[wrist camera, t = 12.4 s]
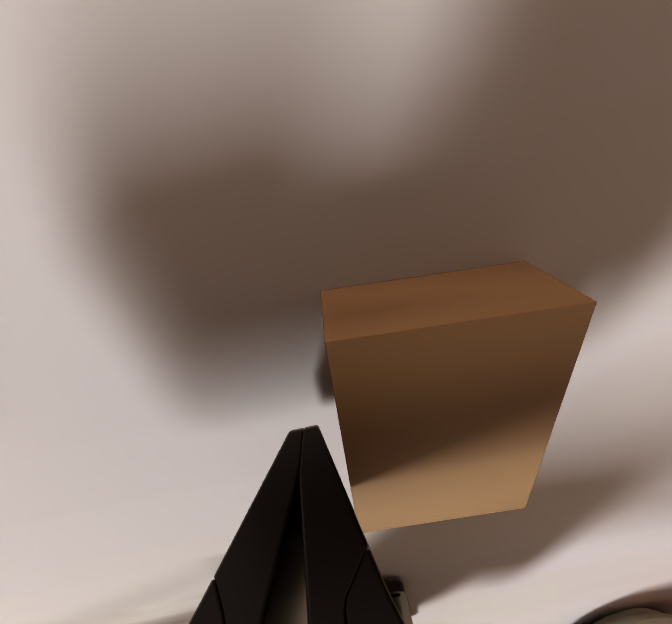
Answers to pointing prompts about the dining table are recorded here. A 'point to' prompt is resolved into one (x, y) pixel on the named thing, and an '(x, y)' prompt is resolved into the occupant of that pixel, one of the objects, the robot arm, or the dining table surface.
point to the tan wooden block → (450, 388)
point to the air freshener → (636, 617)
